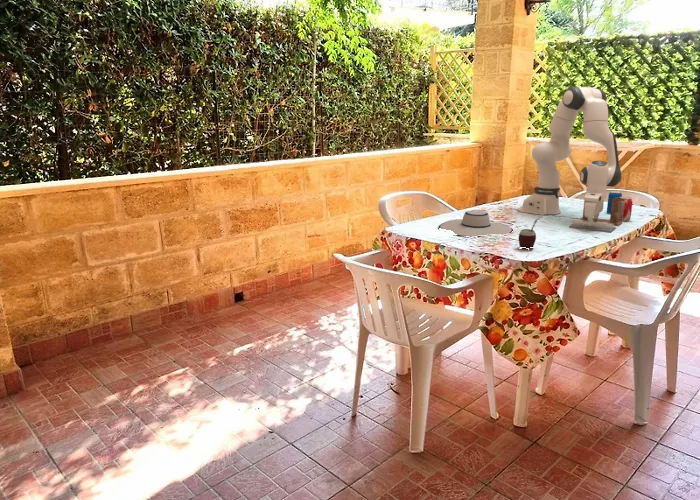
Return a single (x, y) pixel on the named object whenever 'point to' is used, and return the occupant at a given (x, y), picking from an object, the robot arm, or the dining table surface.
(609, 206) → the beverage can
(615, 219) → the rack
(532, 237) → the mate gourd
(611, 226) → the rail
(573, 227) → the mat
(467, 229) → the sun hat
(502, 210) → the dining table surface
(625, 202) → the soda can
